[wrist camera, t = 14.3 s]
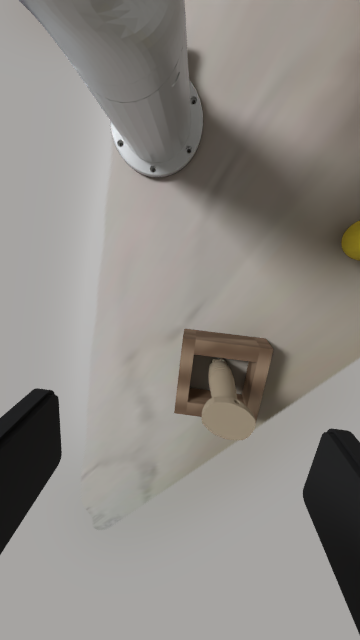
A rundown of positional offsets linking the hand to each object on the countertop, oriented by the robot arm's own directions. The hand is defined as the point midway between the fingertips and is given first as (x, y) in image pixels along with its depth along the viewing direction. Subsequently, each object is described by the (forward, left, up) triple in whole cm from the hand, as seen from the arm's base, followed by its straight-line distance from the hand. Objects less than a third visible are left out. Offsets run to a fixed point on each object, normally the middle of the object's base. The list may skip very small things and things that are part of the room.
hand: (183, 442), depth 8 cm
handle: (+13, +6, -32) cm, 36 cm away
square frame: (+14, +6, -32) cm, 36 cm away
